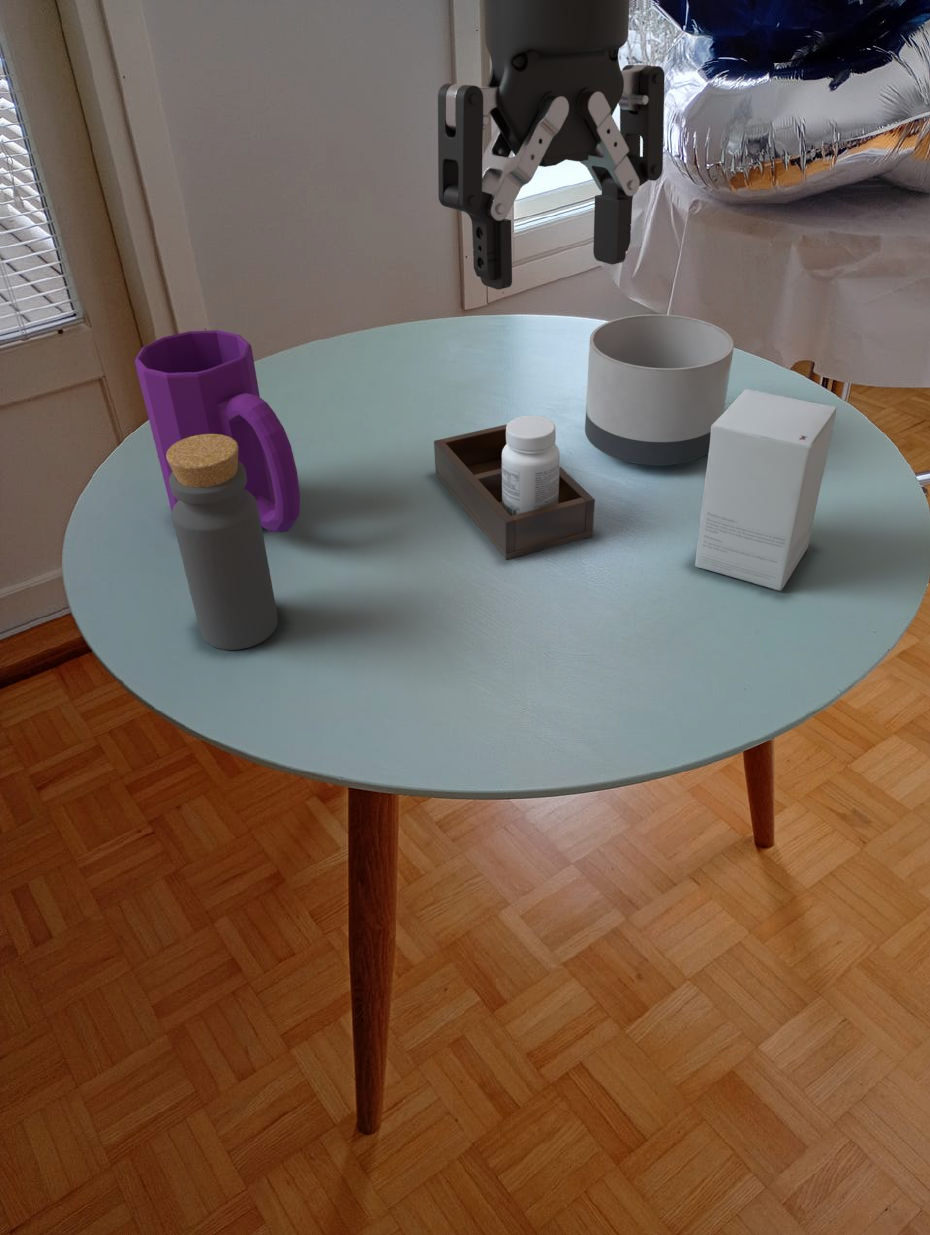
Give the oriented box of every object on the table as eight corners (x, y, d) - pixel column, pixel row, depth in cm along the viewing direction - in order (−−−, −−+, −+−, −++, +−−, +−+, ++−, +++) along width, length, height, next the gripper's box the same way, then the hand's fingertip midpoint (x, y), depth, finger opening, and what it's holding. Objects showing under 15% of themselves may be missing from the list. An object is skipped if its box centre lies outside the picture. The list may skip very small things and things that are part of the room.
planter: (742, 438, 96) (759, 334, 89) (675, 491, 88) (688, 382, 82) (629, 403, 102) (637, 304, 96) (558, 450, 95) (561, 346, 88)
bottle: (293, 613, 75) (263, 437, 66) (249, 659, 71) (211, 478, 62) (230, 596, 77) (193, 423, 68) (184, 639, 73) (138, 461, 64)
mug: (237, 475, 93) (207, 320, 83) (346, 534, 84) (326, 368, 75) (153, 514, 87) (111, 353, 78) (260, 581, 79) (227, 410, 70)
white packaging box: (810, 547, 80) (842, 406, 73) (780, 594, 76) (811, 447, 68) (723, 523, 84) (745, 385, 76) (690, 566, 79) (709, 423, 71)
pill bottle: (558, 501, 86) (561, 413, 81) (557, 531, 82) (560, 440, 77) (503, 500, 86) (503, 412, 81) (500, 529, 82) (499, 439, 77)
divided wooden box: (513, 456, 94) (513, 422, 92) (592, 536, 83) (595, 499, 81) (435, 475, 92) (433, 440, 89) (505, 559, 80) (505, 522, 78)
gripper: (483, -58, 44) (493, 310, 53) (712, -64, 50) (687, 264, 59) (397, -49, 49) (420, 283, 58) (614, -56, 55) (604, 244, 64)
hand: (554, 273), depth 58 cm, fingers open, 8 cm apart
